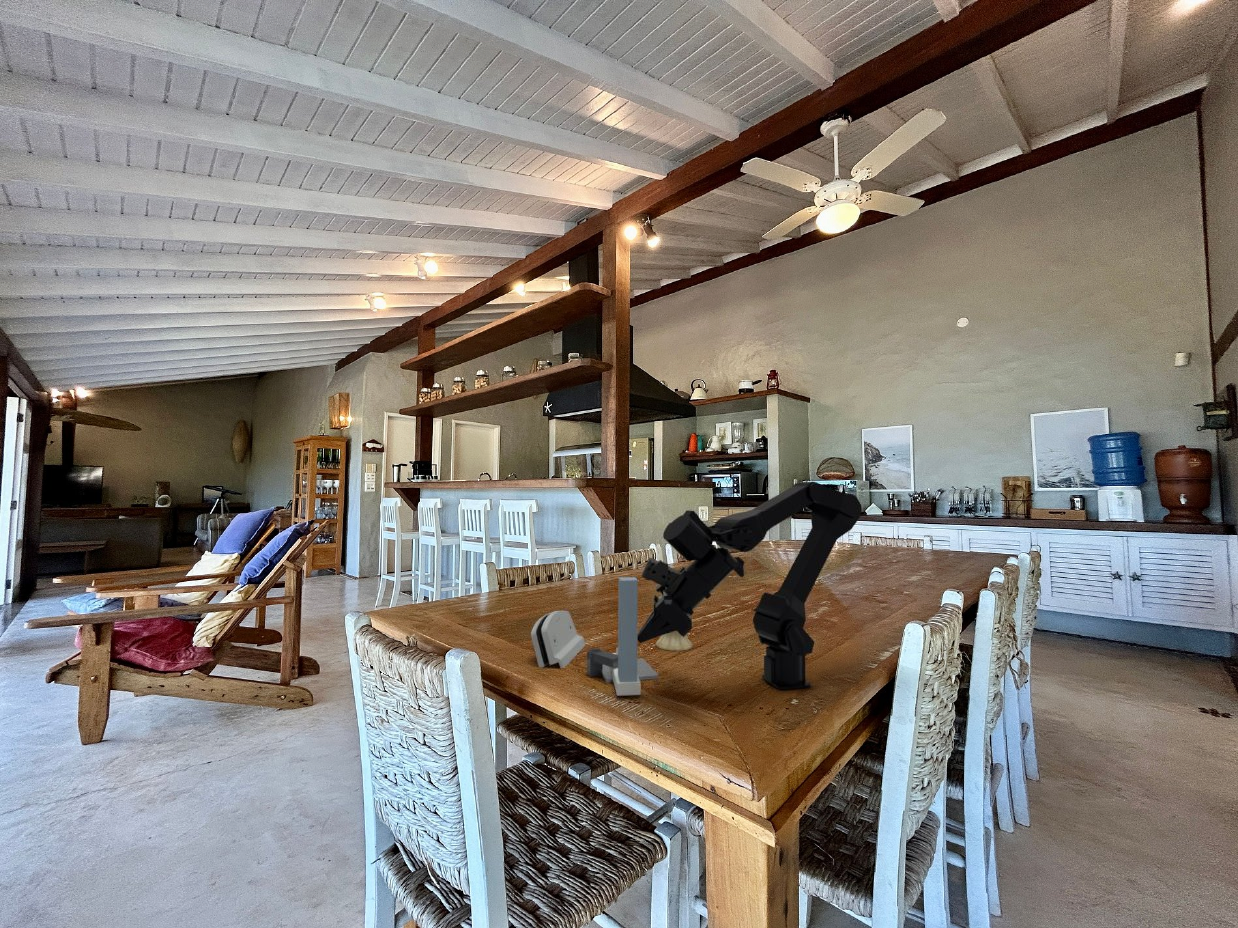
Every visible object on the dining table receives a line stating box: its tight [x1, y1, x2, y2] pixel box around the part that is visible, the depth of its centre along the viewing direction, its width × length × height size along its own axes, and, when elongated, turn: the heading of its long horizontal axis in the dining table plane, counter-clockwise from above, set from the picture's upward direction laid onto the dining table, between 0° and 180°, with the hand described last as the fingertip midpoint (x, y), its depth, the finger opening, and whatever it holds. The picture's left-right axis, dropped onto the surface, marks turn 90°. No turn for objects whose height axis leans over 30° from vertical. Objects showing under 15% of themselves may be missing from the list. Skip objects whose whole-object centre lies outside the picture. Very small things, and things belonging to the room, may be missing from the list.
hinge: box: [530, 610, 586, 669], centre depth 109 cm, size 17×5×10 cm, turn 168°
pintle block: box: [586, 646, 659, 684], centre depth 98 cm, size 13×11×4 cm
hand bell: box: [655, 631, 693, 652], centre depth 116 cm, size 8×8×16 cm
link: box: [610, 576, 642, 696], centre depth 94 cm, size 16×4×19 cm, turn 6°
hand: (638, 639), depth 89 cm, fingers closed
